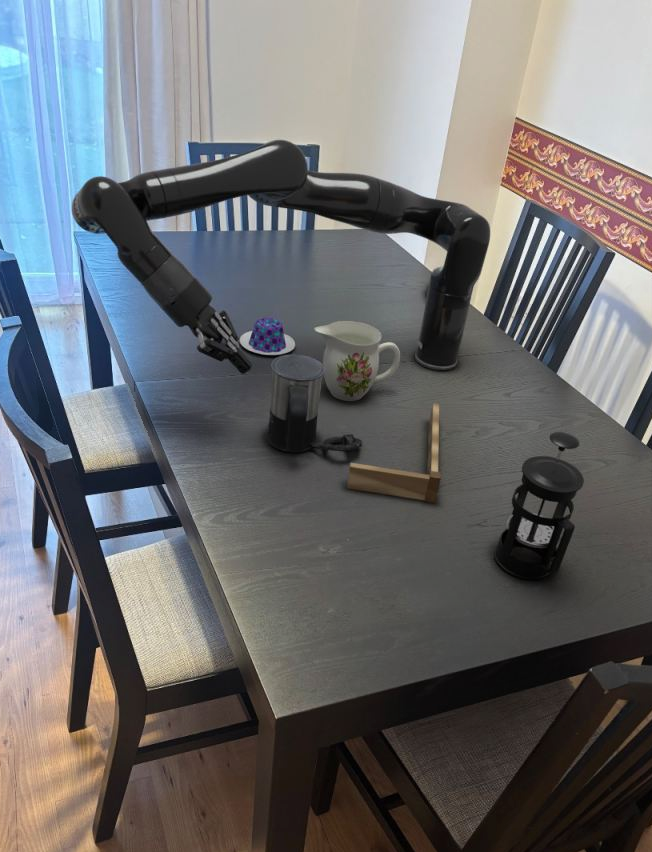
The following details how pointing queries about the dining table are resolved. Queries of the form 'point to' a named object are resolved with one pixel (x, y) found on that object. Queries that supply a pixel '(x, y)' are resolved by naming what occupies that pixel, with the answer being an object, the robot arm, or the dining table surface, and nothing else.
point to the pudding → (267, 338)
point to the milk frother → (299, 406)
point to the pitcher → (353, 358)
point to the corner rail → (403, 473)
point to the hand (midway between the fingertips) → (247, 369)
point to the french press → (535, 530)
